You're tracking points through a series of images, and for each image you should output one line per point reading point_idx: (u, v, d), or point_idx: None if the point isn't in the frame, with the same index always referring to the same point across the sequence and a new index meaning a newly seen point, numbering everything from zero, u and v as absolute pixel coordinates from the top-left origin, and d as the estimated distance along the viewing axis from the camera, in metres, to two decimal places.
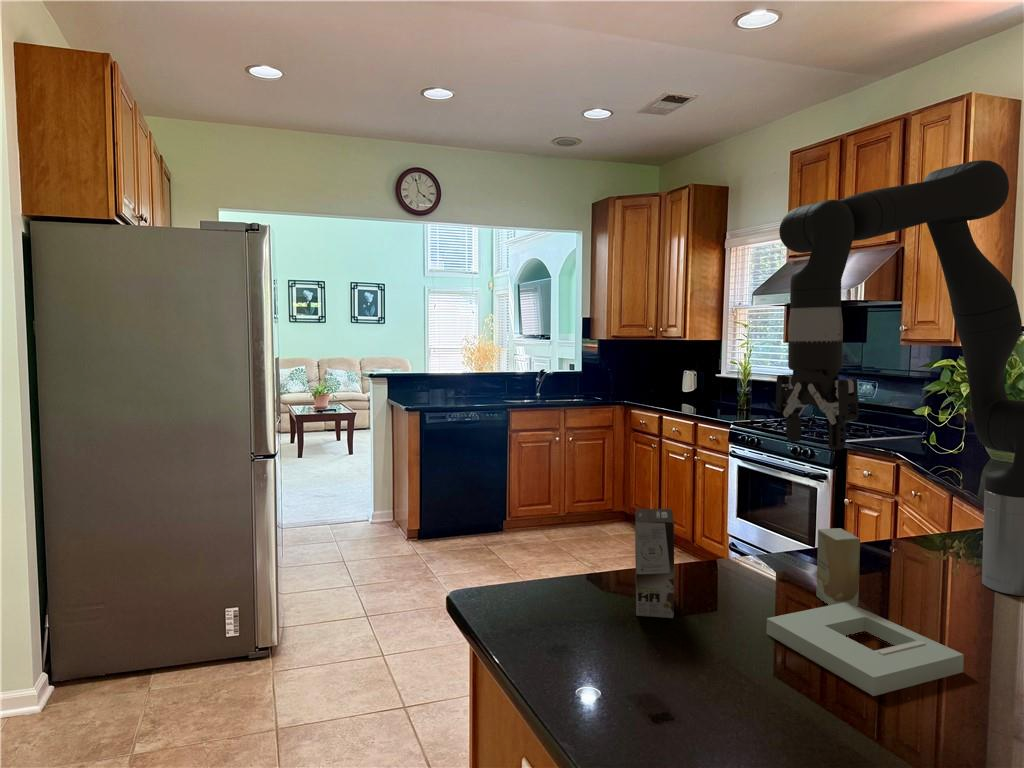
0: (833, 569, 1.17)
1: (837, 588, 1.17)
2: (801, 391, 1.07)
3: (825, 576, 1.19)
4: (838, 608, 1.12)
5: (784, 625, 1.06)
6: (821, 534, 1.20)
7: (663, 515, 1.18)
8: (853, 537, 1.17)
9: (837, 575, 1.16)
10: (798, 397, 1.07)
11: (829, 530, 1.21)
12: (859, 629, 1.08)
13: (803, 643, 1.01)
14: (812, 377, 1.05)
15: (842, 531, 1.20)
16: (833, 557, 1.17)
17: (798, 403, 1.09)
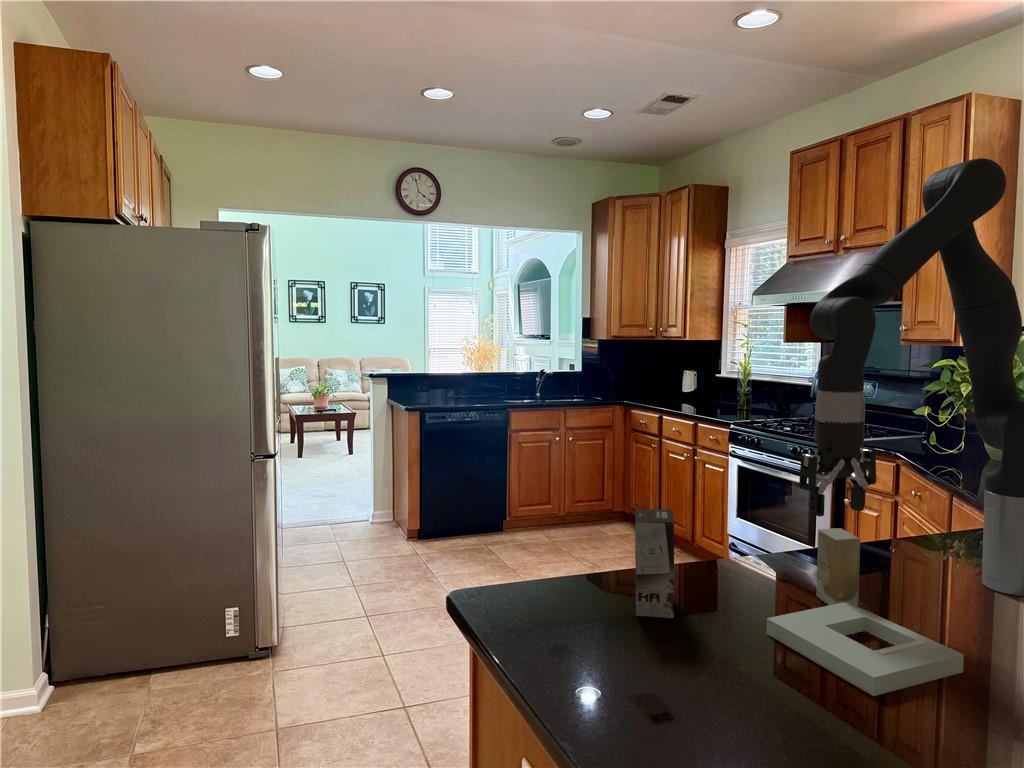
0: (833, 569, 1.17)
1: (837, 588, 1.17)
2: None
3: (825, 576, 1.19)
4: (838, 608, 1.12)
5: (784, 625, 1.06)
6: (821, 534, 1.20)
7: (663, 515, 1.18)
8: (853, 537, 1.17)
9: (837, 575, 1.16)
10: None
11: (829, 530, 1.21)
12: (859, 629, 1.08)
13: (803, 643, 1.01)
14: (847, 452, 1.17)
15: (842, 531, 1.20)
16: (833, 557, 1.17)
17: None
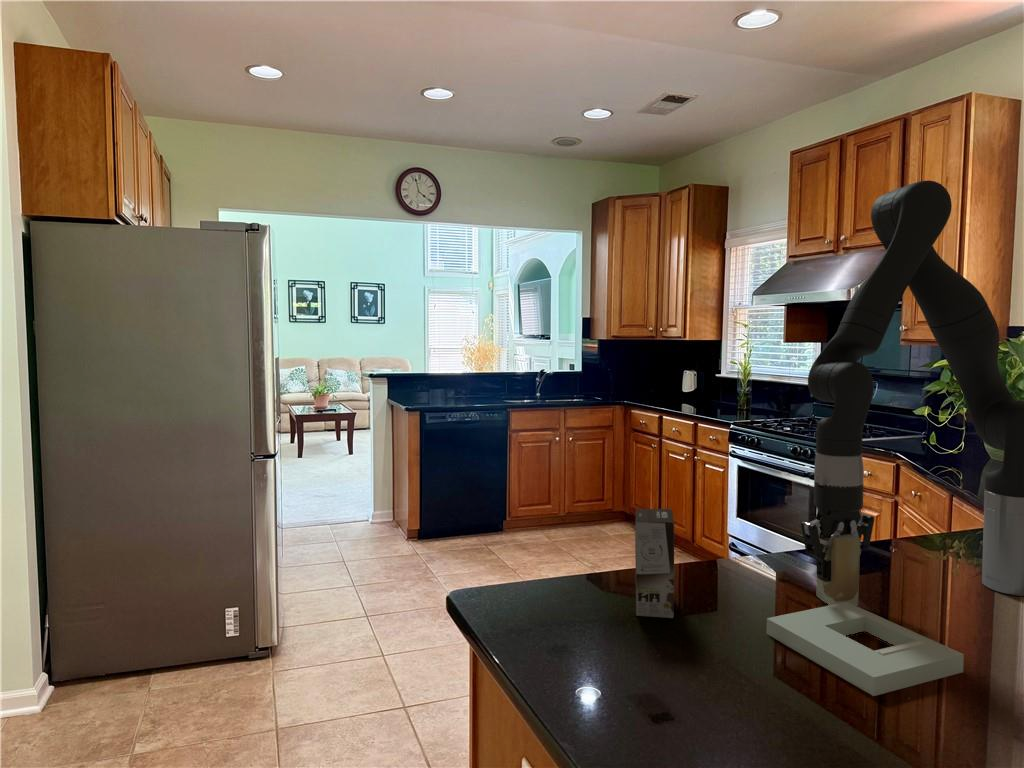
0: (833, 569, 1.17)
1: (837, 588, 1.17)
2: None
3: None
4: (838, 608, 1.12)
5: (784, 625, 1.06)
6: None
7: (663, 515, 1.18)
8: (853, 537, 1.17)
9: (836, 575, 1.16)
10: None
11: None
12: (859, 629, 1.08)
13: (803, 643, 1.01)
14: (846, 514, 1.18)
15: None
16: (833, 557, 1.17)
17: None
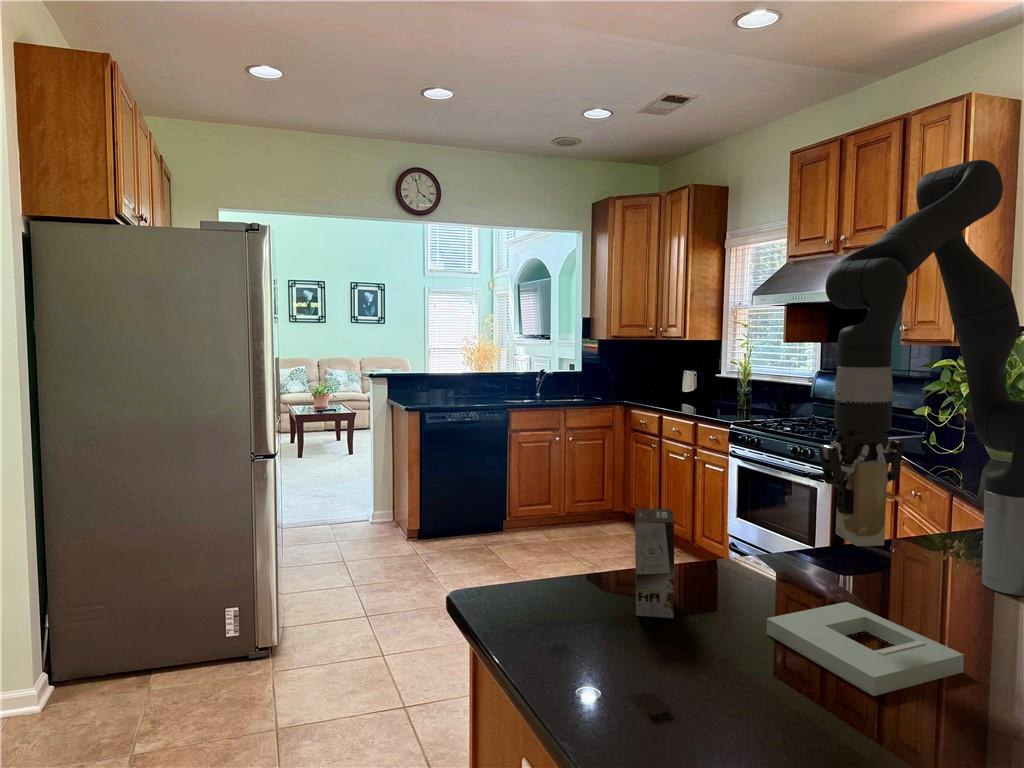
0: (856, 499, 1.01)
1: (860, 520, 1.01)
2: None
3: None
4: (838, 608, 1.12)
5: (784, 625, 1.06)
6: None
7: (663, 515, 1.18)
8: (879, 462, 1.01)
9: (860, 506, 1.01)
10: None
11: None
12: (859, 629, 1.08)
13: (803, 643, 1.01)
14: (872, 437, 1.02)
15: None
16: (856, 485, 1.01)
17: None
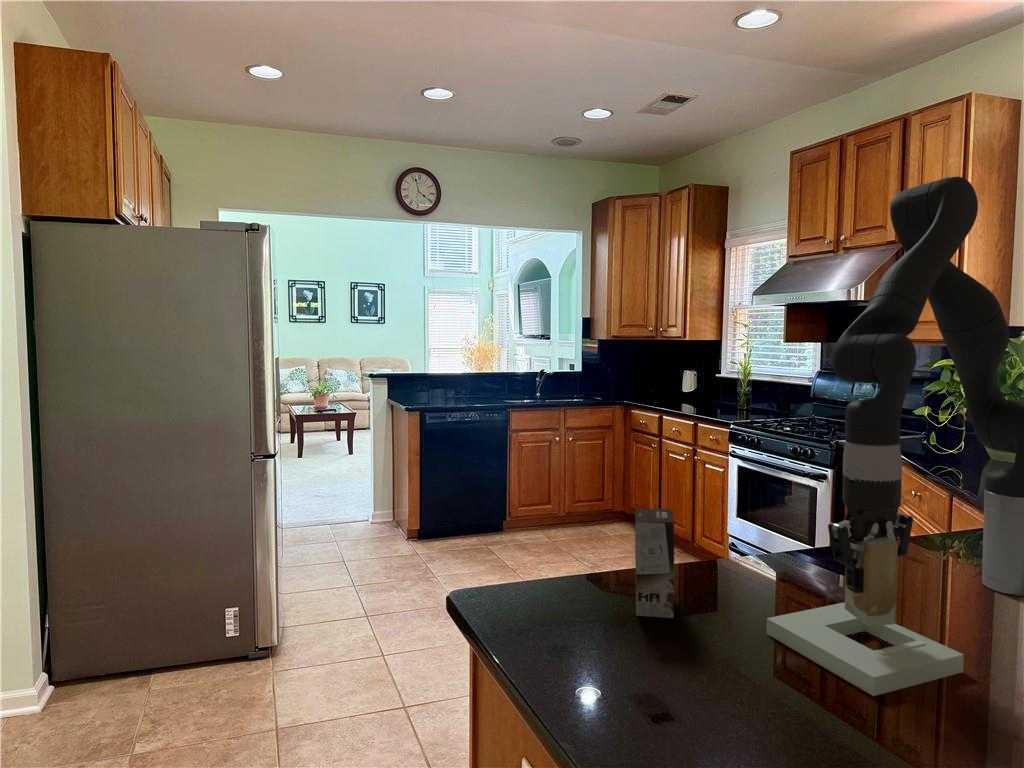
0: (866, 578, 0.99)
1: (871, 600, 0.99)
2: None
3: None
4: (838, 608, 1.12)
5: (784, 625, 1.06)
6: None
7: (663, 515, 1.18)
8: (889, 540, 0.99)
9: (870, 586, 0.99)
10: None
11: None
12: (859, 629, 1.08)
13: (803, 643, 1.01)
14: (881, 513, 1.00)
15: None
16: (866, 564, 0.99)
17: None
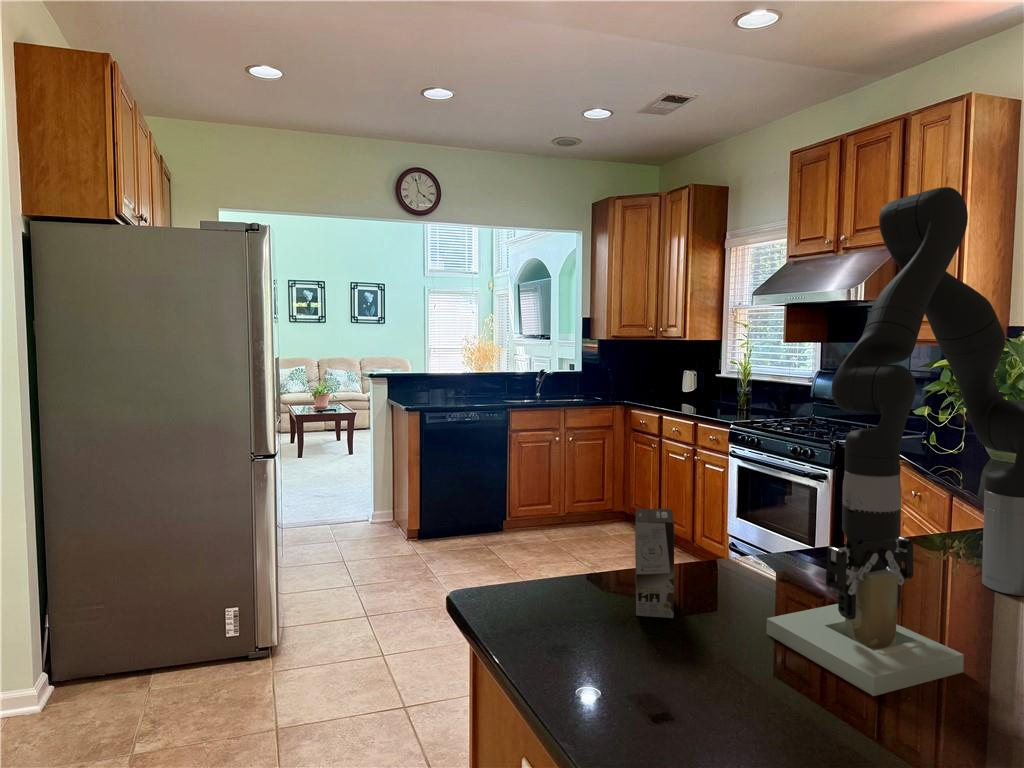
0: (867, 611, 1.00)
1: (871, 633, 0.99)
2: None
3: (856, 618, 1.02)
4: None
5: (784, 625, 1.06)
6: (851, 569, 1.03)
7: (663, 515, 1.18)
8: (890, 573, 1.00)
9: (871, 619, 0.99)
10: None
11: None
12: None
13: (803, 643, 1.01)
14: (880, 543, 1.01)
15: None
16: (867, 597, 1.00)
17: None
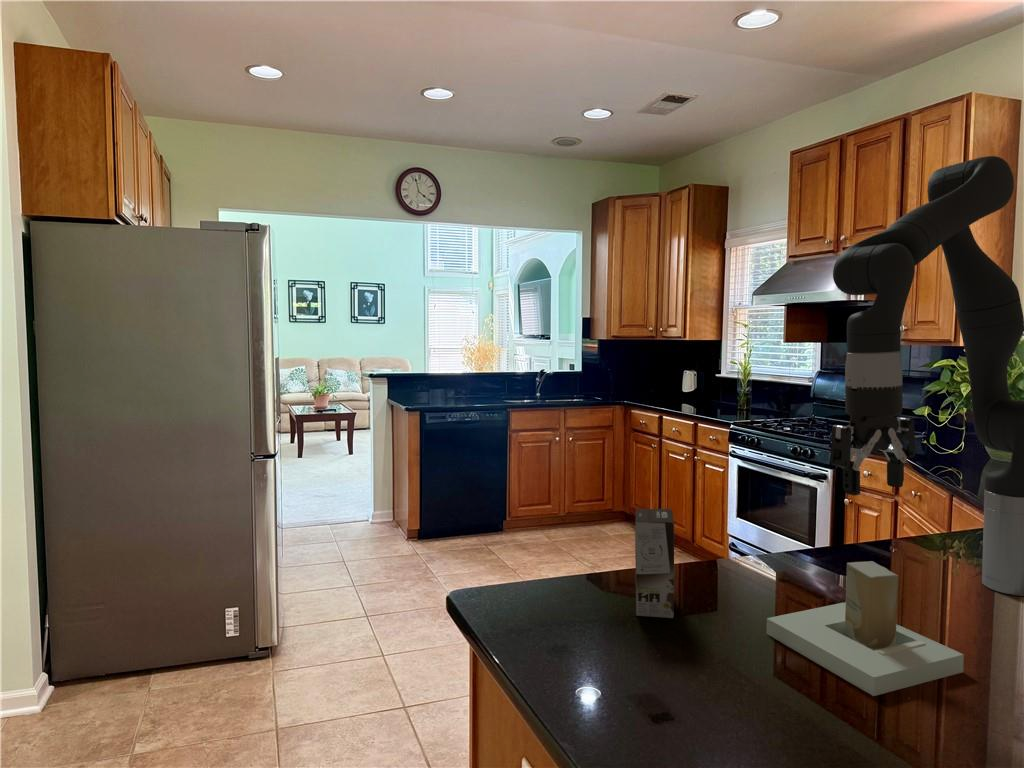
0: (867, 611, 1.00)
1: (871, 633, 0.99)
2: None
3: (856, 618, 1.02)
4: (838, 608, 1.12)
5: (784, 625, 1.06)
6: (851, 568, 1.03)
7: (663, 515, 1.18)
8: (890, 573, 1.00)
9: (871, 618, 0.99)
10: None
11: (860, 564, 1.04)
12: None
13: (803, 643, 1.01)
14: (883, 421, 1.03)
15: (875, 565, 1.03)
16: (867, 597, 1.00)
17: None
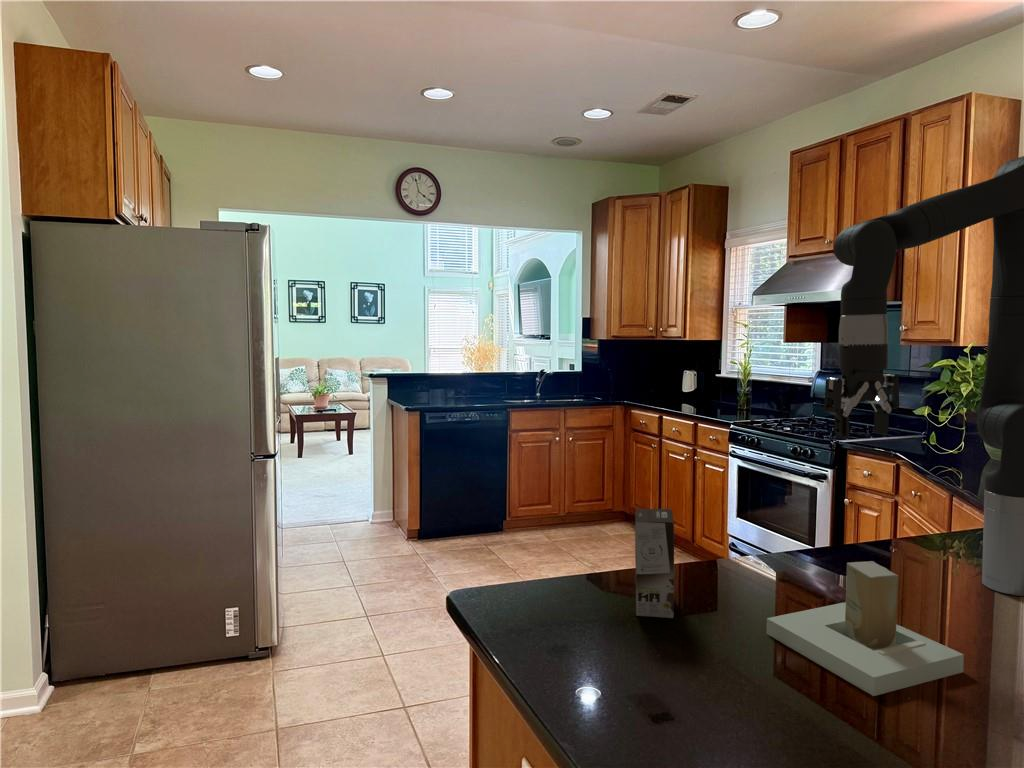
0: (867, 611, 1.00)
1: (871, 633, 0.99)
2: None
3: (856, 618, 1.02)
4: (838, 608, 1.12)
5: (784, 625, 1.06)
6: (851, 568, 1.03)
7: (663, 515, 1.18)
8: (890, 573, 1.00)
9: (871, 619, 0.99)
10: None
11: (860, 564, 1.04)
12: None
13: (803, 643, 1.01)
14: (871, 375, 1.19)
15: (875, 565, 1.03)
16: (867, 597, 1.00)
17: None
